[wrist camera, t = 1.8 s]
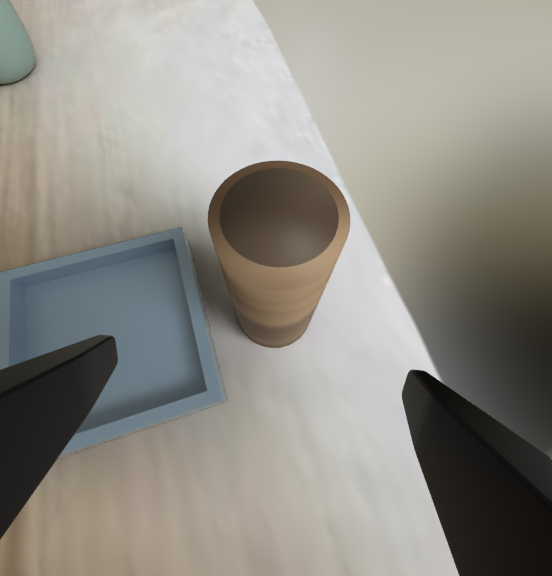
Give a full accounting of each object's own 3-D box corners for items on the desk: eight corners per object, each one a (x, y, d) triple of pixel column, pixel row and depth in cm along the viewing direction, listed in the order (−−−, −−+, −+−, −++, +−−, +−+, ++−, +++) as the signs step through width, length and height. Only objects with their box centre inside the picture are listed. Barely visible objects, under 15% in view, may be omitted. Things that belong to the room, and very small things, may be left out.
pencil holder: (319, 337, 22) (371, 260, 11) (246, 355, 21) (220, 293, 10) (299, 272, 24) (325, 150, 13) (231, 286, 23) (197, 172, 12)
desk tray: (227, 401, 20) (223, 399, 18) (21, 470, 18) (-10, 477, 16) (188, 242, 25) (181, 227, 23) (22, 285, 23) (-2, 272, 21)
